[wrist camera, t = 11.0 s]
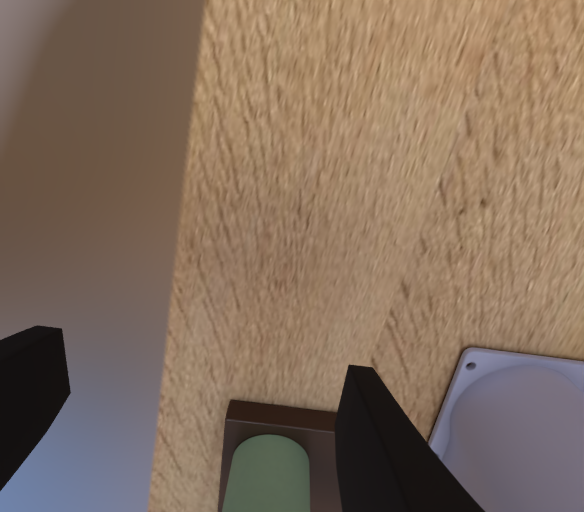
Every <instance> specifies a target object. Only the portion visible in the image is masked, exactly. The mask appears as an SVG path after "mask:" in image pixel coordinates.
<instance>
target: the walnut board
mask: <svg viewBox="0 0 584 512" xmlns="http://www.w3.org/2000/svg"><path fill="white" fill-rule="evenodd" d="M336 416H337V413H333V412H325V411H316V410H308V409H300V408H292V407H283V406H275V405H267V404H259V403H251V402H242V401H234V400H230V402H229V406H228V410H227V414H226V418H225V428H224V440H223V453H222V465H221V478H220V490H219V502H218V512H222V508H223V503H224V498H225V494H226V489H227V484H228V479H229V474H230V469H231V464H232V459H233V454H234V452H235V450H236V449H237V447H238V446H239V445H240V444H241V443H242V442H244V441H245V440H247V439H249V438H251V437H254V436H258V435H267V434H271V435H279V436H283V437H287V438H289V439H291V440H293V441H295V442H296V443H298V444H299V445H300V446H301V447H302V448H303V449H304V450H305V452H306V453H307V456H308V458H309V475H310V512H342V506H341V499H340V492H339V485H338V477H337V470H336V454H335V420H336Z"/></svg>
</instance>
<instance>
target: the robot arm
mask: <svg viewBox="0 0 584 512" xmlns="http://www.w3.org/2000/svg"><path fill="white" fill-rule="evenodd" d="M471 362H472V364H470V365H467V364H468V363H471ZM70 393H71V392H70V385H69V377H68V370H67V362H66V355H65V348H64V340H63V333H62V329H61V328H53V327H45V326H34V327H32V328H29V329H26V330H24V331H21V332H19V333H16V334H14V335H11V336H9V337H7V338H4V339H2V340H0V491H1V490H2V488H3V487H4V486H5V485H6V483H7V482H8V481H9V480H10V478H11V477H12V476H13V475H14V473H15V472H16V471H17V470H18V468H19V467H20V466H21V464H22V463H23V462H24V461H25V459H26V458H27V457H28V455H29V454H30V453H31V452H32V450H33V449H34V448H35V446H36V445H37V444H38V443H39V441H40V440H41V438H42V437H43V436H44V435H45V433H46V432H47V431H48V429H49V427H50V426H51V424H52V423H53V421H54V419H55V418H56V416H57V415H58V413H59V411H60V410H61V408H62V406H63V404H64V403H65V401H66V400H67V398H68V396H69V395H70ZM335 454H336V470H337V477H338V485H339V492H340V499H341V506H342V512H584V361H577V360H569V359H561V358H554V357H546V356H538V355H530V354H522V353H514V352H507V351H499V350H491V349H483V348H475V347H470V348H468V349H466V350H465V351H464V352H463V353H462V356H461V358H460V361H459V363H458V366H457V369H456V371H455V374H454V376H453V379H452V382H451V384H450V387H449V390H448V392H447V395H446V397H445V400H444V403H443V405H442V408H441V410H440V413H439V416H438V418H437V421H436V423H435V426H434V429H433V431H432V434H431V436H430V439H429V442H428V443H427V442H426V441H425V439H424V438H423V437H422V436H421V434H420V433H419V432H418V430H417V429H416V428H415V426H414V425H413V424H412V422H411V421H410V420H409V418H408V417H407V415H406V414H405V413H404V411H403V410H402V408H401V407H400V406H399V404H398V403H397V401H396V400H395V399H394V397H393V396H392V394H391V393H390V391H389V390H388V389H387V387H386V386H385V384H384V383H383V381H382V380H381V378H380V377H379V376H378V374H377V373H376V371H375V370H374V369H373V367H365V366H357V365H349V366H348V370H347V374H346V379H345V383H344V387H343V391H342V395H341V400H340V404H339V408H338V412H337V416H336V420H335Z"/></svg>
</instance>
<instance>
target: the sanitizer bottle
mask: <svg viewBox="0 0 584 512" xmlns="http://www.w3.org/2000/svg"><path fill="white" fill-rule="evenodd" d="M222 512H310V475H309V458H308V456H307V453H306V452H305V450H304V449H303V448H302V447H301V446H300V445H299V444H298V443H296V442H295V441H293V440H291V439H289V438H287V437H283V436H279V435H271V434H267V435H258V436H254V437H251V438H249V439H247V440H245V441H244V442H242V443H241V444H240V445H239V446H238V447H237V449H236V450H235V452H234V454H233V459H232V464H231V469H230V474H229V479H228V484H227V489H226V494H225V498H224V503H223V508H222Z"/></svg>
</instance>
